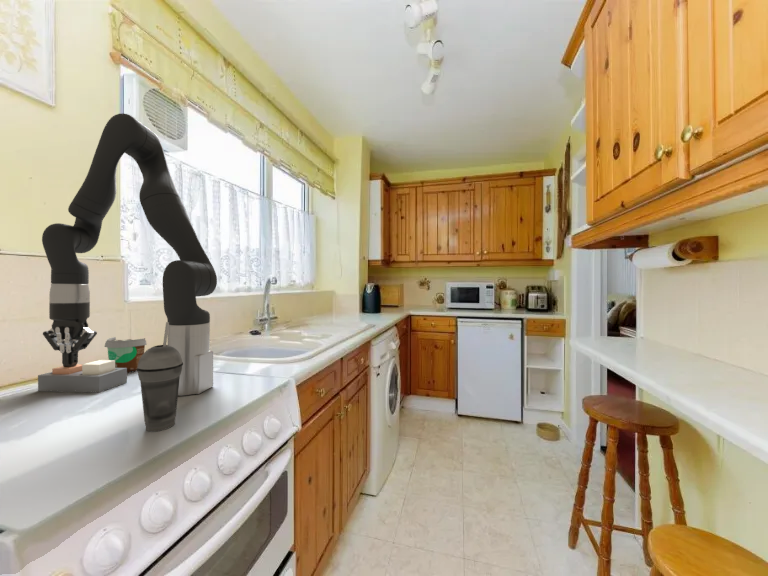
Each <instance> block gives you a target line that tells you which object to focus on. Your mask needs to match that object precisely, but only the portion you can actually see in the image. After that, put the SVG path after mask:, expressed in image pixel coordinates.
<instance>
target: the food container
mask: <svg viewBox="0 0 768 576" xmlns="http://www.w3.org/2000/svg"><path fill="white" fill-rule="evenodd" d="M147 344H148V343H147V340H146V338H138V339H132V338H131V339H130V338H129V339H117V338H116V336H113V337H108V338H107V339H106V341H105V343H104V347H105V348H107V355H108V357H107V358H108V360H115V368H127V373H132V372H131V371H133V372H137V371H136V370H137V367H138V363H139V360H140V358H141V356H142V355H143V354H144V353H145V346H147Z"/></svg>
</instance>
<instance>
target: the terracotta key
mask: <svg viewBox="0 0 768 576" xmlns="http://www.w3.org/2000/svg"><path fill="white" fill-rule="evenodd" d="M80 371H82V364H79V363H77V365H76V366H73V367H63V365H62V366H58V367H53V368H52V371H51V372H52V374H72V373H76V372H80Z"/></svg>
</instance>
